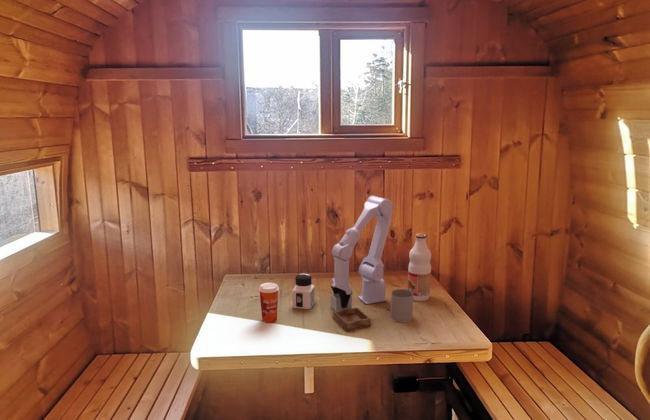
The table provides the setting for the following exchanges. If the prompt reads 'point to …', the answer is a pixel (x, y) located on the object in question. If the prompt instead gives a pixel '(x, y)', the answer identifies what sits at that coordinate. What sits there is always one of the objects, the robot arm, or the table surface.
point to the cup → (401, 305)
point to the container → (303, 292)
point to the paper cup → (269, 301)
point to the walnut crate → (351, 319)
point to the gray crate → (339, 303)
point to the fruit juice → (419, 269)
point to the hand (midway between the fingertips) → (341, 304)
